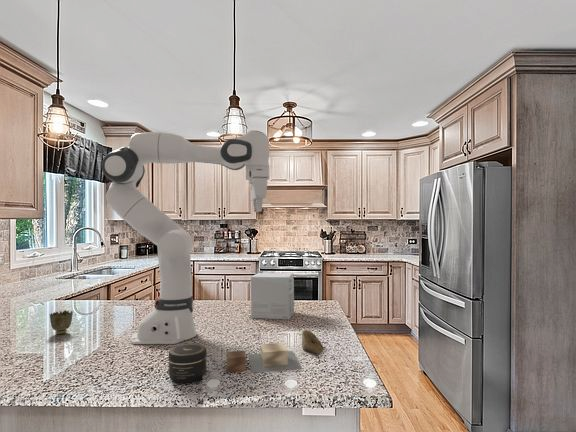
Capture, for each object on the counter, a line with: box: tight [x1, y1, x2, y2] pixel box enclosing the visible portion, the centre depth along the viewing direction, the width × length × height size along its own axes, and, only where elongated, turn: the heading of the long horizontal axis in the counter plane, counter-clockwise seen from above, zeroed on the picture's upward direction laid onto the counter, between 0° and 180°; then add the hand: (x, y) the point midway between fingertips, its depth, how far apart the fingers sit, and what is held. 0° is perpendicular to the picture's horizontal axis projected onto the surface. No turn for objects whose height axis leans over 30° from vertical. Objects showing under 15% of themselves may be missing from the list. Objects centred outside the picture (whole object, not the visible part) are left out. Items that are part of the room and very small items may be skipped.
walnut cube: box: [226, 350, 247, 374], centre depth 103 cm, size 5×5×5 cm
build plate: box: [247, 350, 303, 374], centre depth 108 cm, size 14×14×1 cm
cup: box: [49, 309, 73, 336], centre depth 140 cm, size 8×7×8 cm
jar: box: [167, 343, 208, 385], centre depth 100 cm, size 10×10×8 cm
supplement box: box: [250, 272, 295, 320], centre depth 165 cm, size 17×13×18 cm
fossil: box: [301, 329, 324, 356], centre depth 118 cm, size 9×4×10 cm
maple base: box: [260, 342, 288, 367], centre depth 108 cm, size 7×7×4 cm
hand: (257, 212), depth 139 cm, fingers open, 8 cm apart
